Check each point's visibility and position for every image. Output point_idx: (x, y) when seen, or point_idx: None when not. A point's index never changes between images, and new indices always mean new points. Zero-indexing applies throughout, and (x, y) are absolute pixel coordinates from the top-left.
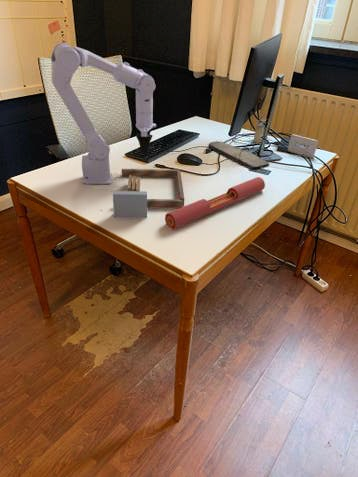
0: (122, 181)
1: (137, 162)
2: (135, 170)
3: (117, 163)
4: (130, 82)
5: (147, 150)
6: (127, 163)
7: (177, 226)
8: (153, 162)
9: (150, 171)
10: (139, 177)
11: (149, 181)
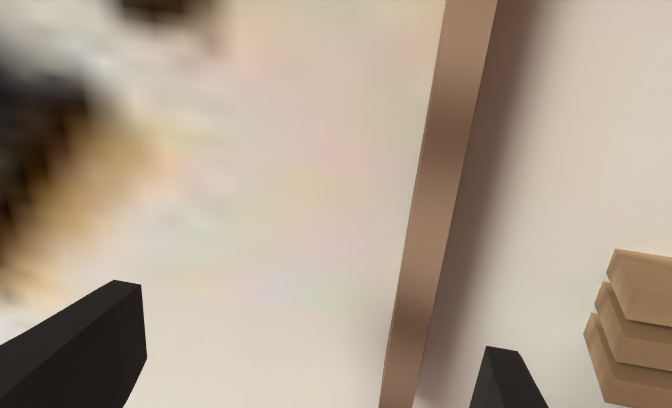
0: None
1: (96, 203)
2: (432, 304)
3: None
4: None
5: (537, 400)
6: None
7: None
8: (68, 34)
9: (463, 147)
10: (643, 298)
11: (582, 149)
